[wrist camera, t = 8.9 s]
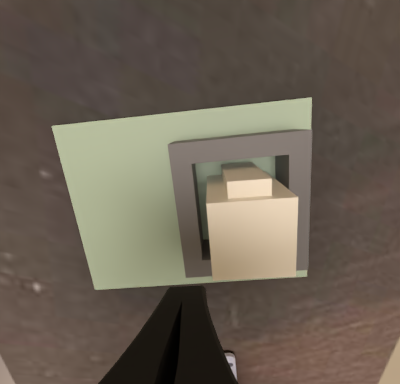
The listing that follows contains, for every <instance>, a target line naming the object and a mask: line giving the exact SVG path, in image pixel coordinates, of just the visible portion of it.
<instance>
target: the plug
mask: <svg viewBox="0 0 400 384" xmlns="http://www.w3.org/2000/svg"><path fill="white" fill-rule="evenodd" d="M221 169H222V175H210V176H207V195H206V207H207V219H208V231H209V243H210V255H211V266H212V278H213V281H219V280H239V279H258V278H278V277H296V257H297V225H298V197H297V196H296V195H295V194H294V193H292V192H291V191H290V190H289V189H287V188H286V187H285V186H284V185H282V184H281V183H280V182H279V181H277V180H276V179H275V178H273V177H272V176H271V175H270V174H268V173H267V172H266V171H262V170H261V169H260V168H259V167H257V166H256V165H255V164H254V163H253V162H243V163H231V164H221Z"/></svg>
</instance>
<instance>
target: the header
mask: <svg viewBox="0 0 400 384" xmlns="http://www.w3.org/2000/svg"><path fill="white" fill-rule="evenodd" d="M311 110H312V97H311V98H302V99H293V100H284V101H274V102H265V103H256V104H247V105H238V106H229V107H220V108H211V109H202V110H193V111H184V112H175V113H166V114H156V115H147V116H138V117H129V118H120V119H111V120H102V121H93V122H84V123H75V124H66V125H57V126H52V130H53V133H54V137H55V141H56V145H57V148H58V152H59V156H60V160H61V163H62V167H63V171H64V175H65V179H66V182H67V186H68V190H69V194H70V197H71V201H72V205H73V209H74V212H75V216H76V220H77V224H78V228H79V231H80V235H81V239H82V243H83V246H84V250H85V254H86V258H87V261H88V265H89V269H90V273H91V276H92V280H93V284H94V288H95V290H101V289H117V288H133V287H149V286H164V285H180V284H196V283H212V282H228V281H243V280H259V279H275V278H258V279H239V280H219V281H213V278H212V266H211V255H210V243H209V231H208V219H207V207H206V195H207V176H210V175H222V169H221V164H231V163H243V162H253V163H254V164H255V165H256V166H257V167H259V168H260V169H261V170H262V171H266V172H267V173H268V174H270V175H271V176H272V177H273V178H275V179H276V180H277V181H279V182H280V183H281V184H282V185H284V186H285V187H286V188H287V189H289V190H290V191H291V192H292V193H294V194H295V195H296V196H297V197H298V225H297V257H296V277H306V276H307V270H308V259H309V225H310V191H311V157H312V130H311ZM278 278H291V277H278Z"/></svg>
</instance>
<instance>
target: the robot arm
mask: <svg viewBox="0 0 400 384" xmlns="http://www.w3.org/2000/svg"><path fill="white" fill-rule="evenodd" d="M98 384H238V382H237V374H236V362H235V355H234V354H232V353H224V351H223V349H222V347H221V344H220V342H219V339H218V337H217V334H216V331H215V328H214V325H213V323H212V320H211V316H210V313H209V309H208V306H207V299H206V289H205V287H203V286H184V287H170V288H169V289H168V290H167V292H166V293H165V295H164V297H163V298H162V300H161V301H160V303H159V305H158V306H157V308H156V309H155V311H154V312H153V314H152V315H151V317H150V318H149V319H148V321H147V322H146V324H145V325H144V327H143V328H142V329H141V331H140V332H139V334H138V335H137V336H136V338H135V339H134V340H133V342H132V343H131V344H130V345H129V347H128V348H127V349H126V351H125V352H124V353H123V354H122V356H121V357H120V358H119V360H118V361H117V362H116V363H115V365H114V366H113V367H112V368H111V369H110V371H109V372H108V373H107V374H106V375H105V376H104V378H103V379H102V380H101V381H100V382H99V383H98Z"/></svg>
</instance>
